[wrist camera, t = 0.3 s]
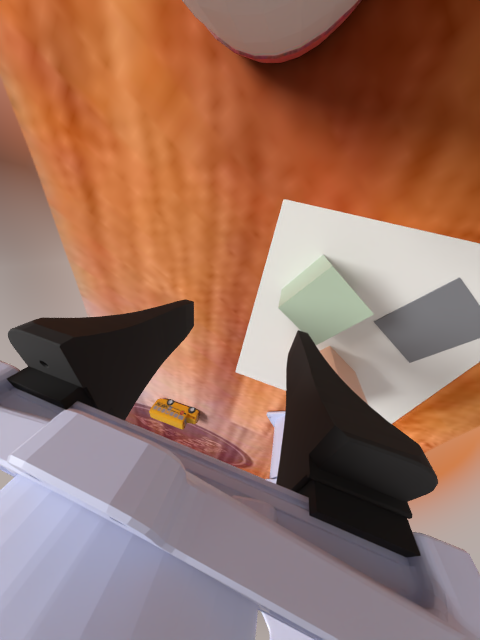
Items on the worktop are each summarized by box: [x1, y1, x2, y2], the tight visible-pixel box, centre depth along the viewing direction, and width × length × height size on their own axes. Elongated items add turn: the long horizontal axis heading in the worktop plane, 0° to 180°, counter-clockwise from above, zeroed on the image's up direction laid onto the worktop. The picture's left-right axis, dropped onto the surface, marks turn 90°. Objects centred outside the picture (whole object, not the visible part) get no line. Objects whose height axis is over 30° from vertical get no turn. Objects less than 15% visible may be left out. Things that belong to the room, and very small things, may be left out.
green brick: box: [278, 255, 374, 345], centre depth 15 cm, size 5×5×4 cm
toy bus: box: [149, 399, 199, 429], centre depth 37 cm, size 3×10×4 cm, turn 81°
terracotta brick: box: [320, 346, 368, 404], centre depth 19 cm, size 5×5×4 cm
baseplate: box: [236, 199, 480, 424], centre depth 19 cm, size 22×22×1 cm
